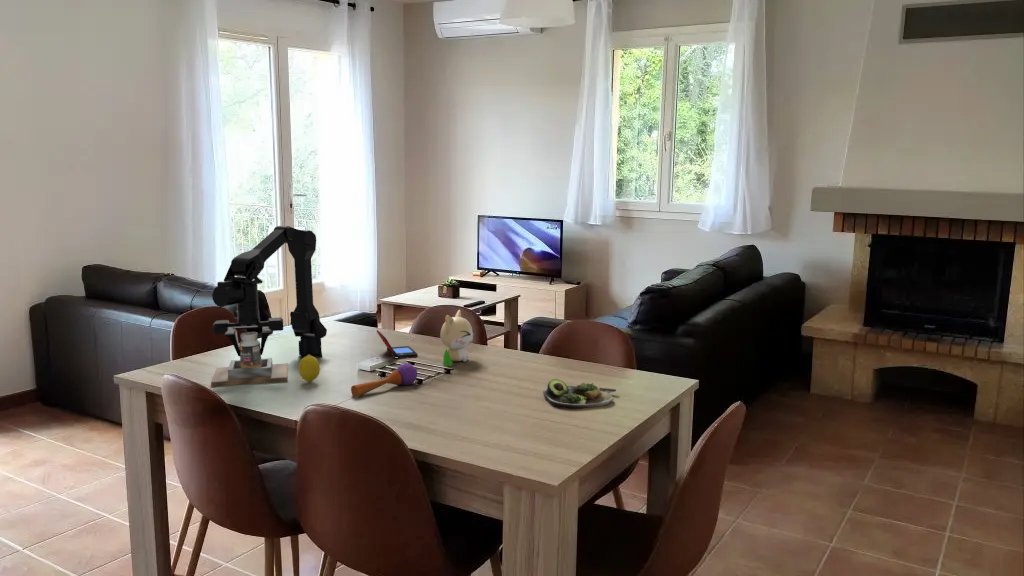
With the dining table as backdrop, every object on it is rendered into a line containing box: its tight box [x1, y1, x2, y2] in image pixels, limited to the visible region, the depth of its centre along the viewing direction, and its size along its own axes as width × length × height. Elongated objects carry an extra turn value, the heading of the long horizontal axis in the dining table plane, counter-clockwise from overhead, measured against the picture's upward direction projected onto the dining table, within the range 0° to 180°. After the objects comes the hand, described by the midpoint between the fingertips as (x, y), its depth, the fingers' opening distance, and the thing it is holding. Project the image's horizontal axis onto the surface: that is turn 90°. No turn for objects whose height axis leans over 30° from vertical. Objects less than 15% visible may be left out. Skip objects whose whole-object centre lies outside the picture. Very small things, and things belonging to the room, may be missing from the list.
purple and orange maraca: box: [350, 363, 418, 398], centre depth 217 cm, size 6×6×20 cm
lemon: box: [298, 355, 321, 384], centre depth 223 cm, size 6×6×8 cm
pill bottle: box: [239, 331, 262, 368], centre depth 229 cm, size 6×6×10 cm
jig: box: [210, 357, 289, 387], centre depth 229 cm, size 20×16×4 cm
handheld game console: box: [376, 329, 418, 359], centre depth 256 cm, size 12×11×7 cm
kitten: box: [439, 309, 475, 367], centre depth 247 cm, size 15×10×15 cm
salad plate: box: [542, 378, 617, 410], centre depth 209 cm, size 19×18×5 cm
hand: (250, 355), depth 229 cm, fingers closed on pill bottle, 6 cm apart
